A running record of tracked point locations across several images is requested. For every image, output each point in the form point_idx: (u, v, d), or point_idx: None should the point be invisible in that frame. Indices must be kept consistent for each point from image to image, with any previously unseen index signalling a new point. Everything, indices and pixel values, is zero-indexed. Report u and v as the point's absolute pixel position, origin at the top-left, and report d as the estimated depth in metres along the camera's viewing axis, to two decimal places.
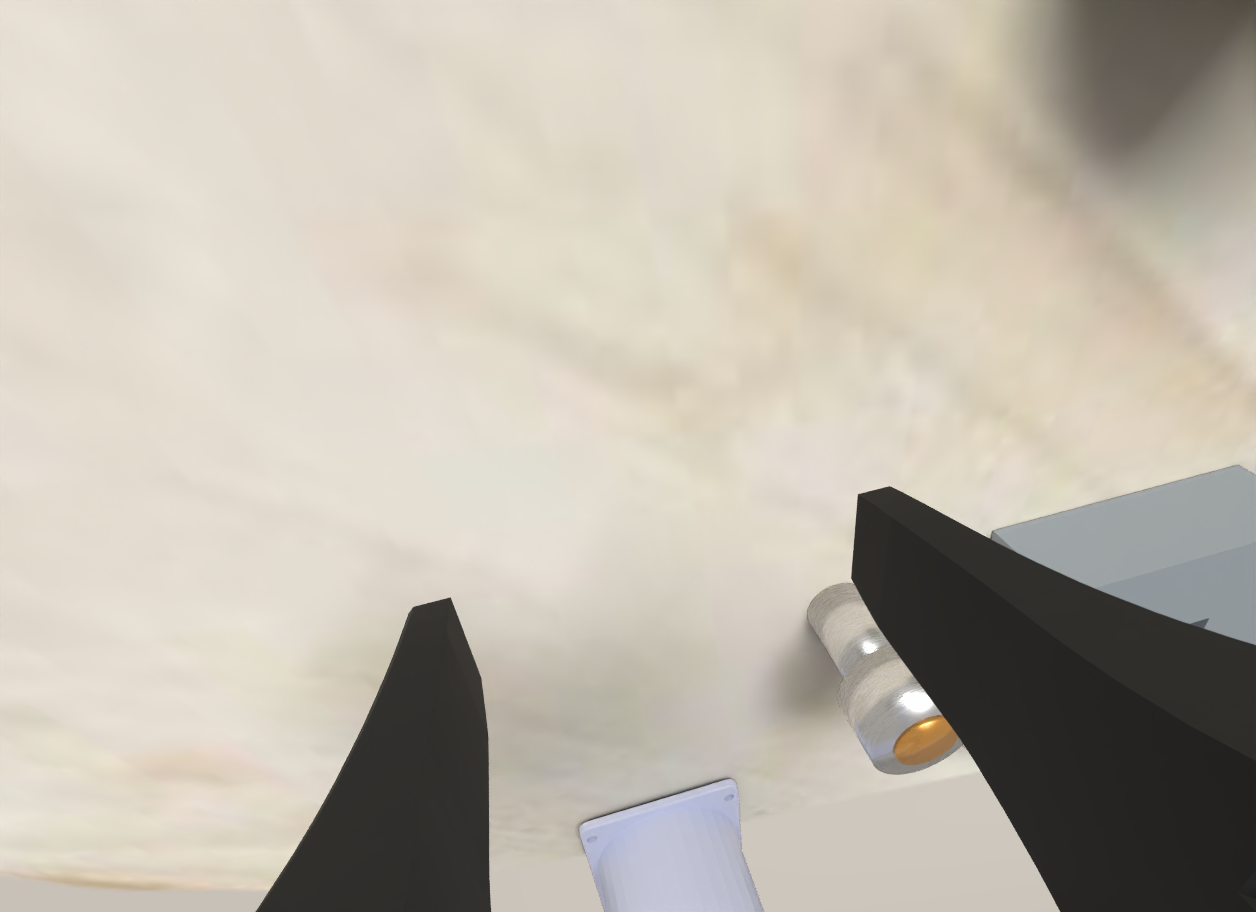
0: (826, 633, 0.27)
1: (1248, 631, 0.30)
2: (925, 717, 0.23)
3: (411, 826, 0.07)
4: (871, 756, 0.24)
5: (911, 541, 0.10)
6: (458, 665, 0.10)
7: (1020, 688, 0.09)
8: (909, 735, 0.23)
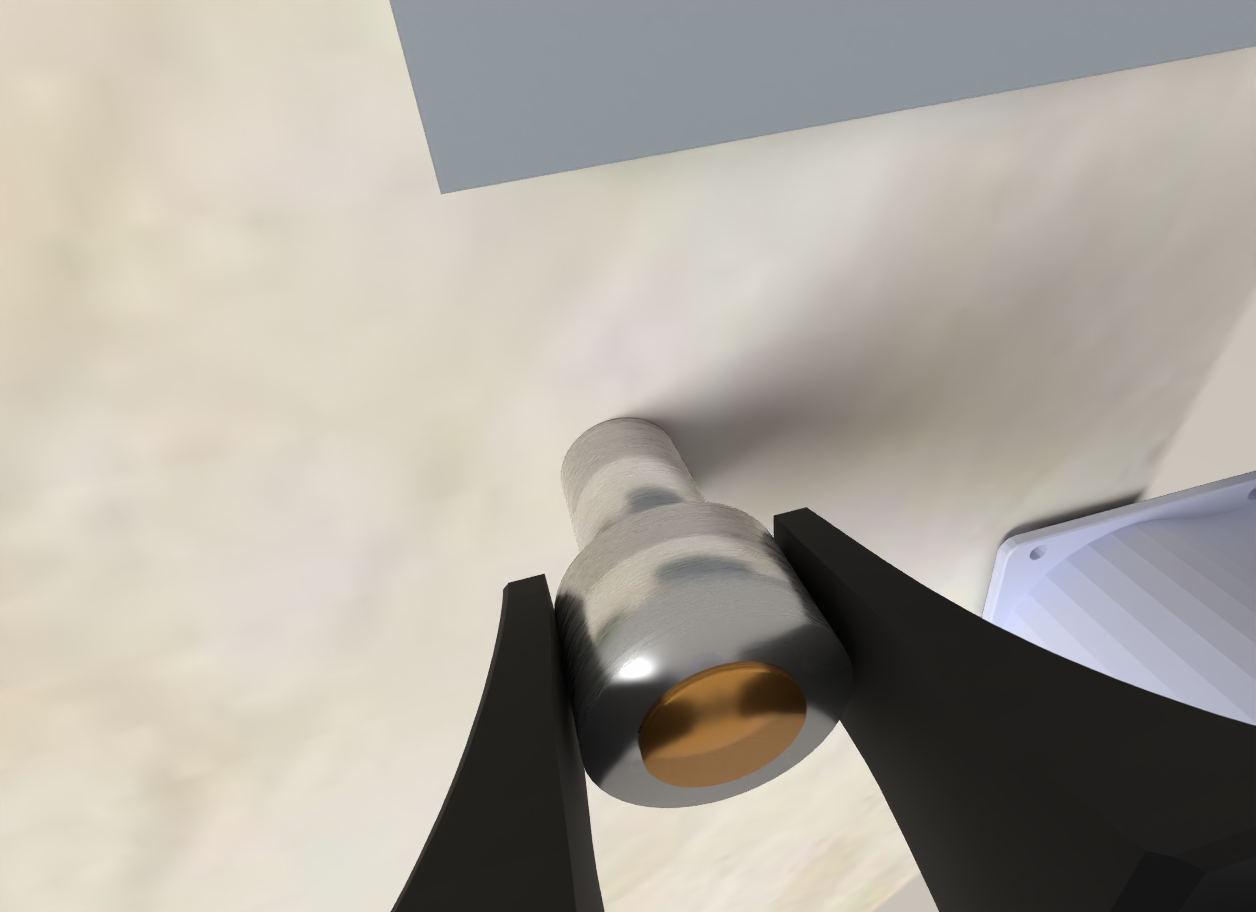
0: None
1: None
2: (638, 751, 0.10)
3: (554, 784, 0.07)
4: (737, 792, 0.11)
5: (817, 565, 0.10)
6: (557, 638, 0.10)
7: (911, 721, 0.09)
8: (673, 783, 0.10)
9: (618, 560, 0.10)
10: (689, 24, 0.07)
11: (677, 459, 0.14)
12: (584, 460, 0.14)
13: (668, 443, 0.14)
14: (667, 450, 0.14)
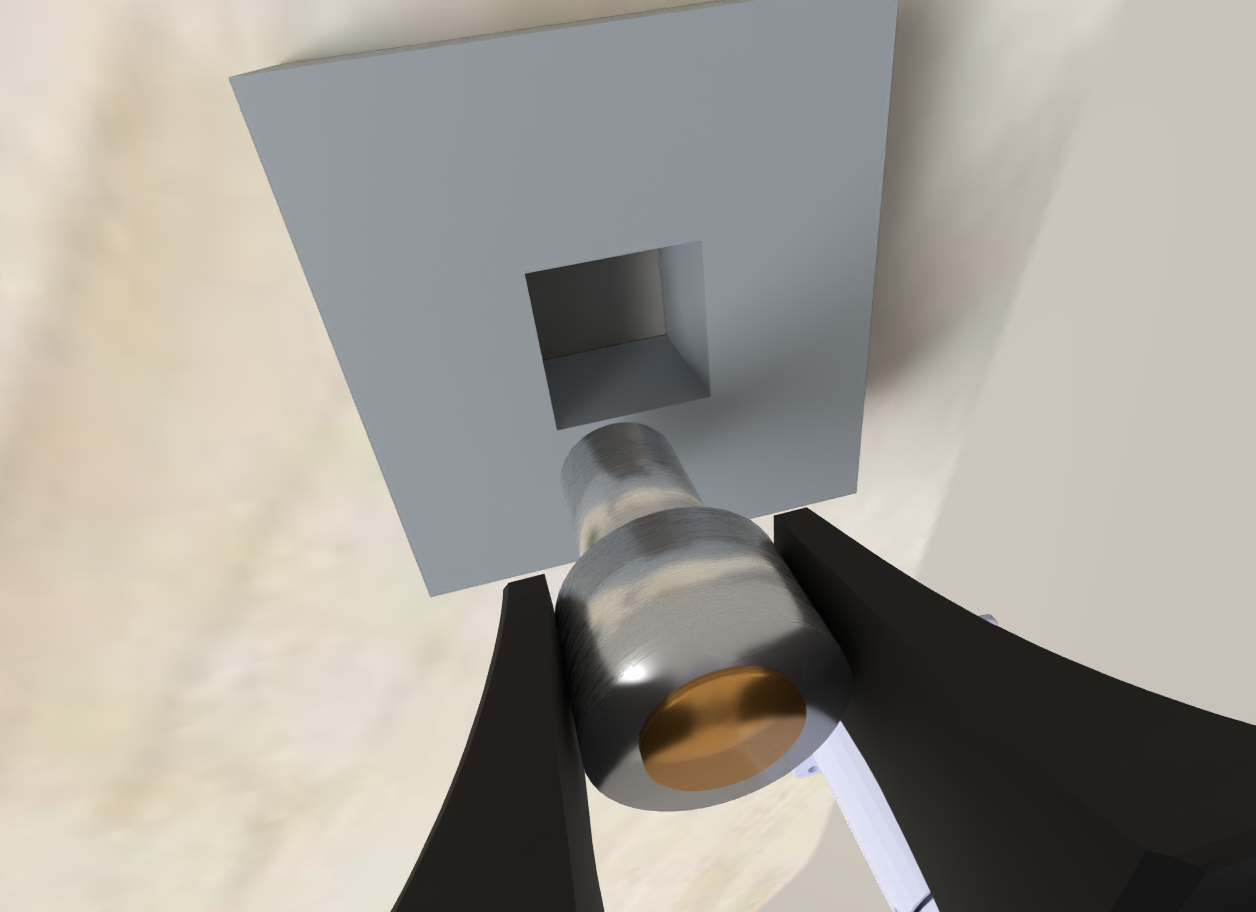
0: None
1: (596, 111, 0.13)
2: (638, 753, 0.10)
3: (554, 784, 0.07)
4: (733, 796, 0.11)
5: (817, 565, 0.10)
6: (557, 639, 0.10)
7: (911, 721, 0.09)
8: (671, 786, 0.10)
9: (623, 562, 0.10)
10: (532, 535, 0.18)
11: (678, 464, 0.14)
12: (585, 463, 0.14)
13: (669, 448, 0.14)
14: (668, 455, 0.14)
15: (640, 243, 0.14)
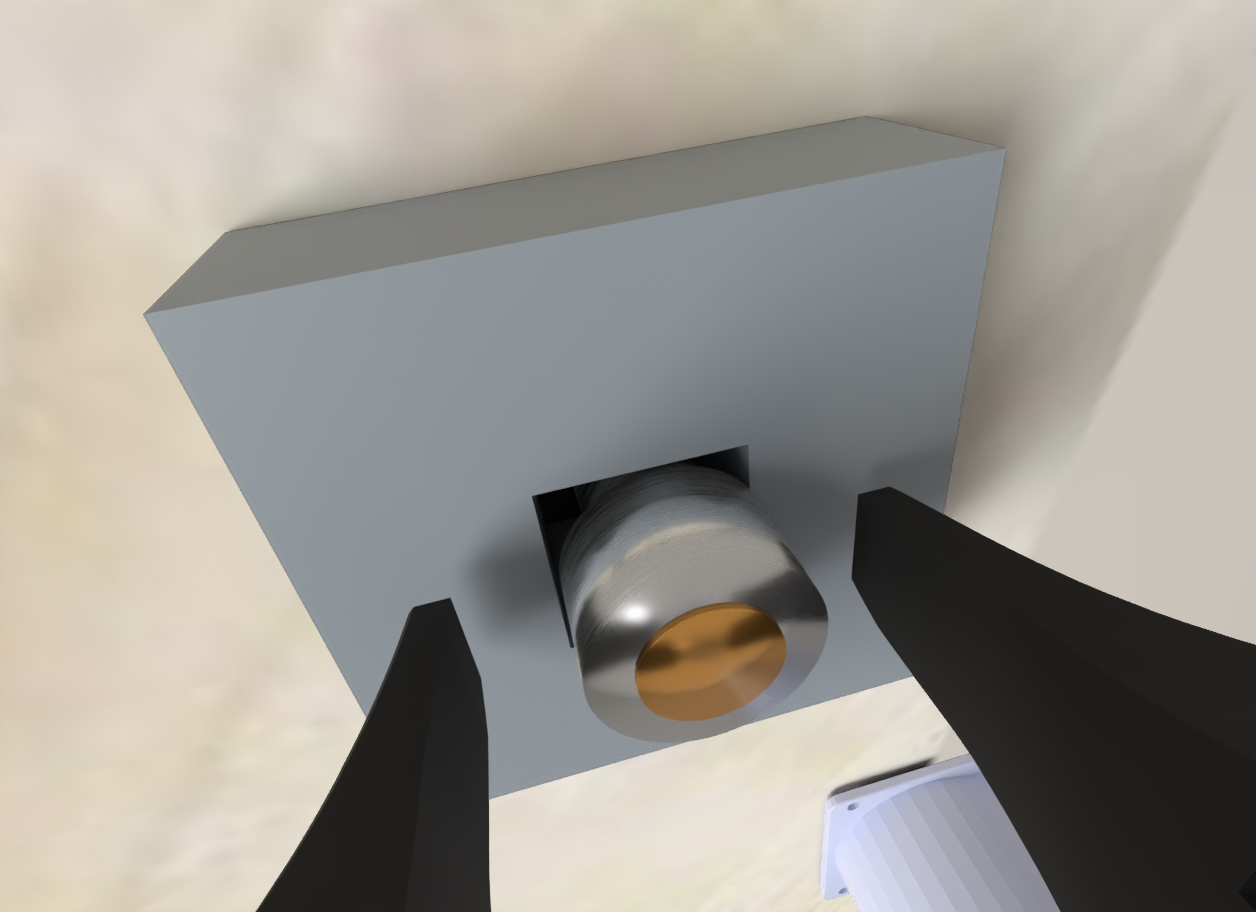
0: None
1: (621, 318, 0.10)
2: (634, 684, 0.11)
3: (411, 826, 0.07)
4: (720, 731, 0.12)
5: (912, 540, 0.10)
6: (458, 665, 0.10)
7: (1020, 688, 0.09)
8: (664, 715, 0.11)
9: (622, 513, 0.11)
10: (541, 750, 0.15)
11: None
12: None
13: None
14: None
15: (673, 454, 0.12)
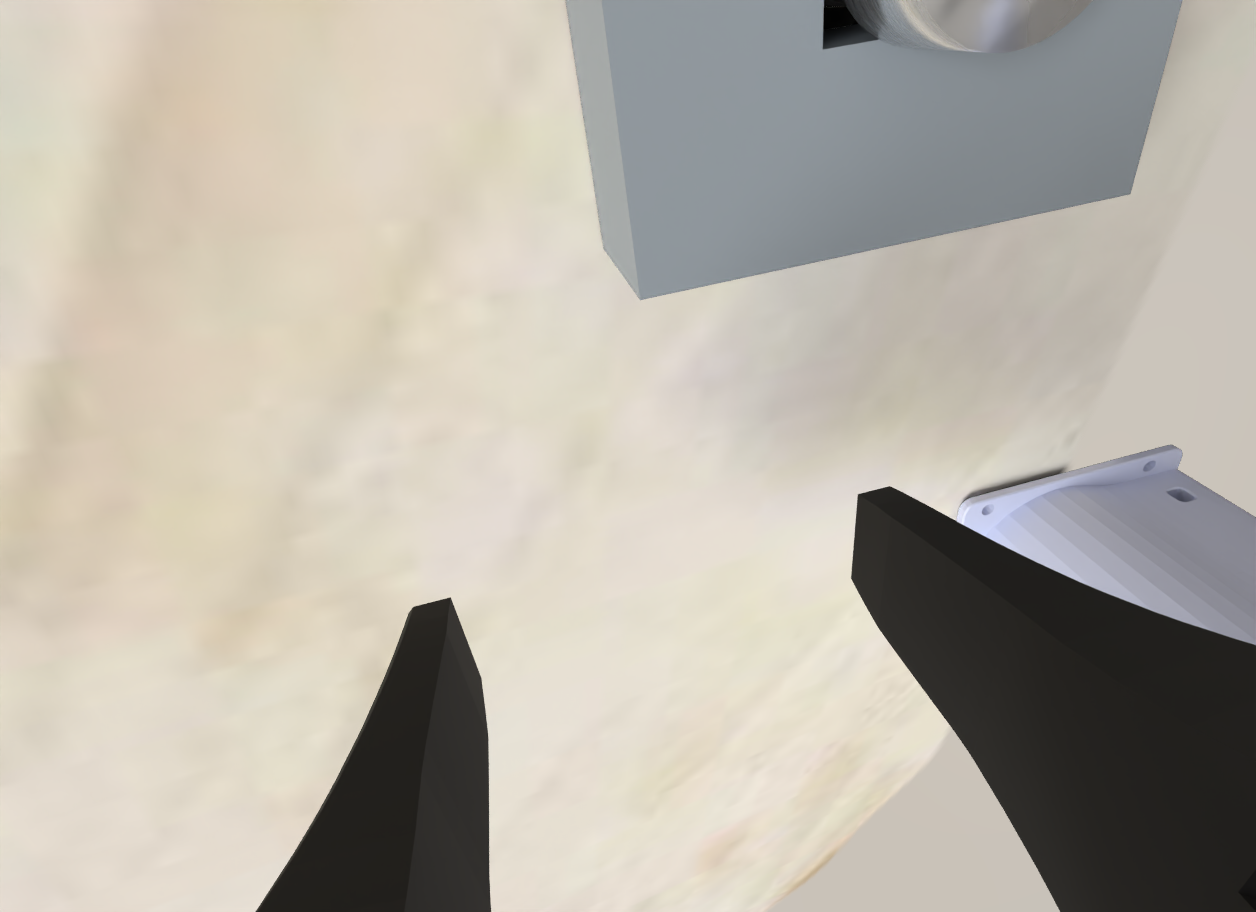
0: (841, 3, 0.15)
1: None
2: None
3: (410, 826, 0.07)
4: (1015, 49, 0.11)
5: (912, 540, 0.10)
6: (458, 665, 0.10)
7: (1020, 688, 0.09)
8: None
9: None
10: (768, 216, 0.14)
11: None
12: None
13: None
14: None
15: None
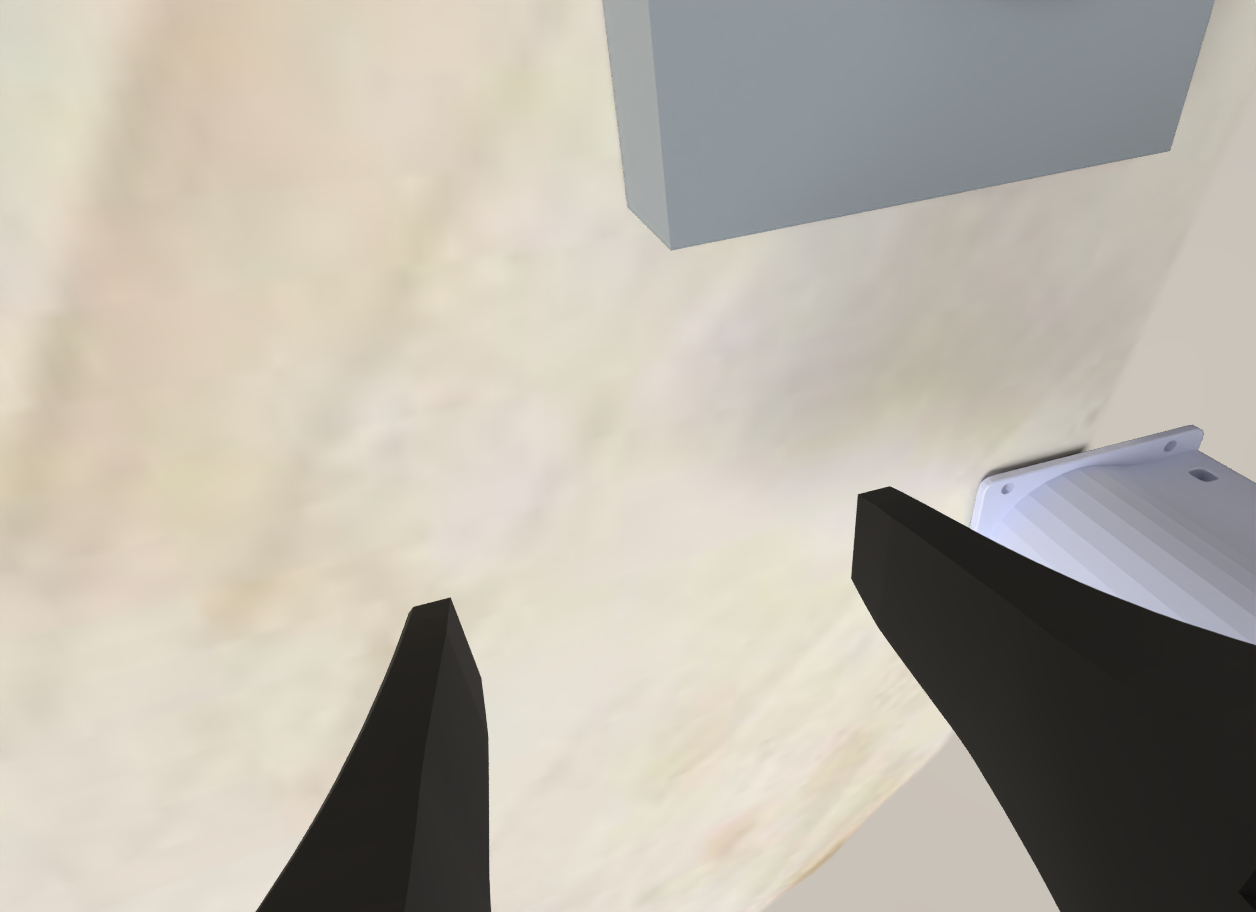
0: None
1: None
2: None
3: (411, 826, 0.07)
4: None
5: (911, 540, 0.10)
6: (458, 665, 0.10)
7: (1020, 688, 0.09)
8: None
9: None
10: (803, 164, 0.14)
11: None
12: None
13: None
14: None
15: None
